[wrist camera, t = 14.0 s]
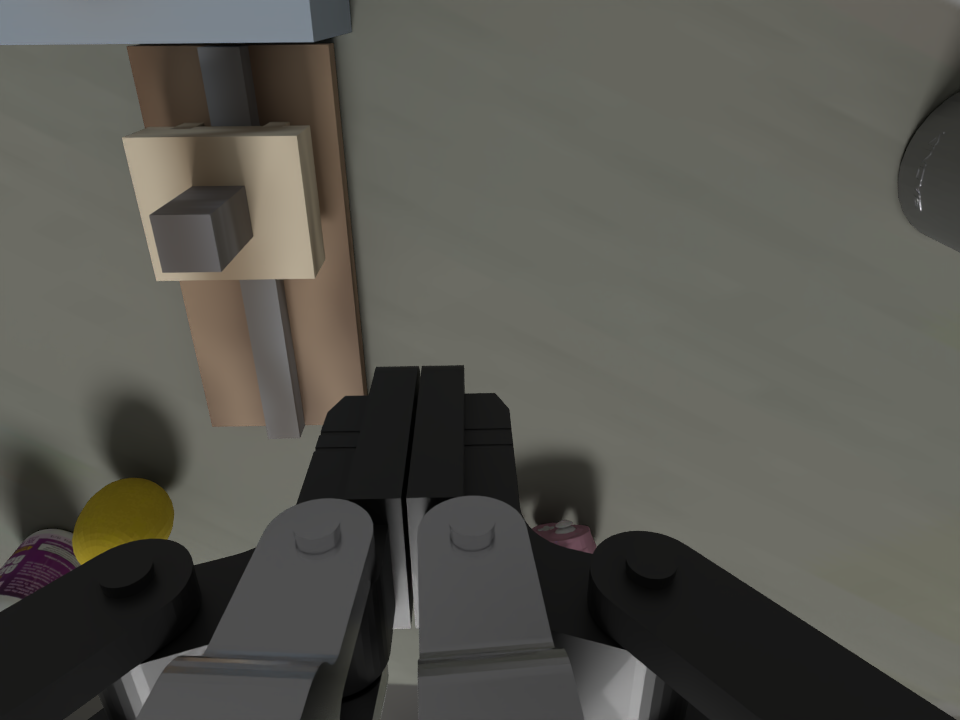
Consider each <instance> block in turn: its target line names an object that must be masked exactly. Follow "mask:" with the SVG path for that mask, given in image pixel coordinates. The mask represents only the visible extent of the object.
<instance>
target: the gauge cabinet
mask: <svg viewBox="0 0 960 720" xmlns="http://www.w3.org/2000/svg"><path fill="white" fill-rule="evenodd" d="M351 32H352V28H351V16H350V4H349V0H0V45H49V44H161V43H272V42H316V41H320V40H324V39H328V38H331V37H335V36H339V35H343V34H347V33H351Z"/></svg>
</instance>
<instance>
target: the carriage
mask: <svg viewBox="0 0 960 720" xmlns="http://www.w3.org/2000/svg"><path fill="white" fill-rule="evenodd" d="M122 140H123V144H124V148H125V152H126V157H127V161H128V165H129V169H130V173H131V177H132V181H133V186H134V190H135V194H136V198H137V202H138V206H139V210H140V214H141V219H142V223H143V227H144V231H145V235H146V239H147V243H148V247H149V252H150V256H151V260H152V264H153V268H154V272H155V276H156V280H157V281H186V280H258V279H315V278H316V276H317V274H318V272H319V270H320V268H321V267H322V265H323V263H324V261H325V250H324V242H323V233H322V225H321V216H320V208H319V199H318V191H317V182H316V174H315V165H314V157H313V148H312V140H311V131H310V125H306V126H290V122H269V123H268V124H266V125H264V126H213V127H205V125H204V123H183V124H181V125H178V126H176V127H148V128H145V129H143V130H140V131H138V132H135V133H133V134H130V135H128V136H125V137H123V138H122Z"/></svg>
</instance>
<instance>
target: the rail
mask: <svg viewBox="0 0 960 720" xmlns="http://www.w3.org/2000/svg"><path fill="white" fill-rule="evenodd" d="M127 50H128V55H129V59H130V64H131V68H132V73H133V77H134V81H135V86H136V90H137V95H138V99H139V104H140V108H141V112H142V117H143V121H144V126H145V128H148V127H176V126H178V125H181V124H183V123H204V125H205V127H213V126H264V125H266V124H268V123H269V122H290V126H306V125H310V131H311V140H312V148H313V157H314V165H315V174H316V182H317V191H318V199H319V208H320V216H321V225H322V233H323V242H324V250H325V261H324V263H323V265H322V267H321V268H320V270H319V272H318V274H317V276H316V278H315V279H258V280H186V281H180V285H181V290H182V294H183V299H184V303H185V307H186V312H187V316H188V321H189V325H190V330H191V334H192V338H193V343H194V347H195V352H196V356H197V361H198V365H199V369H200V374H201V378H202V383H203V387H204V392H205V396H206V401H207V405H208V409H209V414H210V418H211V423H212V427H221V426H266V429H267V435H268V439H277V438H300V437H301V434H302V432H303V429H304V426H305V425H323V424H324V421H325V418H326V415H327V412H328V411H329V410H330V409H331V408H333V407H334V406H335V405H336V404H337V403H338V402H339V401H340V400H341V399H342V398H343V397H344V396H362V395H368V393H367V383H366V373H365V362H364V352H363V342H362V331H361V321H360V311H359V301H358V290H357V280H356V270H355V259H354V249H353V239H352V229H351V218H350V208H349V198H348V187H347V177H346V167H345V157H344V146H343V136H342V126H341V115H340V105H339V95H338V85H337V74H336V64H335V54H334V43H279V44H167V45H134V46H127Z"/></svg>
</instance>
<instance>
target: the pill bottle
mask: <svg viewBox="0 0 960 720" xmlns="http://www.w3.org/2000/svg"><path fill="white" fill-rule="evenodd" d="M72 537H73V533H71V532H68V531H64V530H60V529H44V530H40V531H37V532H35V533H33V534H31V535H30V536H28V537H27V538H26V539H25V540H24V541H23V543H22V544H21V545H20V546H19V547H18V549H17V550H16V551H15V552H14V553H13V555H12V556H11V557H10V558H9V559H8V561H7V562H6V563H5V564H4V565H3V567H2V568H1V569H0V612H1V611H3V610H4V609H6V608H8V607H10V606H11V605H13V604H15V603H16V602H18V601H20V600H22V599H23V598H25V597H27V596H29V595H30V594H32V593H34V592H35V591H37V590H39V589H41V588H42V587H44V586H46V585H47V584H49V583H51V582H53V581H54V580H56V579H58V578H60V577H61V576H63V575H65V574H66V573H68V572H70V571H72V570H73V569H75V568H77V567H79V566H80V565H81V564H80V563H79V562H78V561H77V559H76V556H75V554H74V552H73V546H72Z"/></svg>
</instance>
